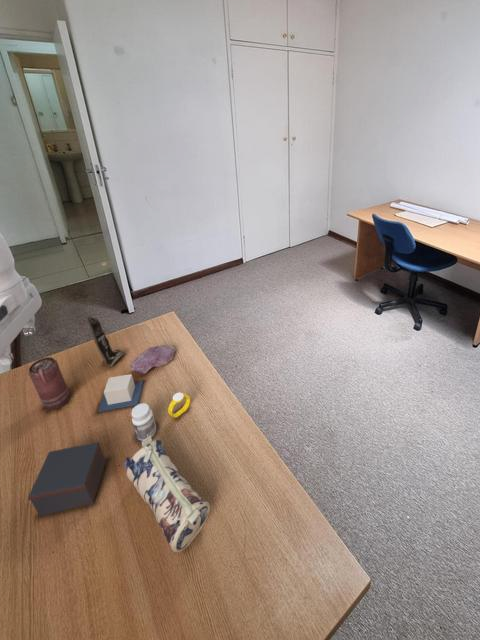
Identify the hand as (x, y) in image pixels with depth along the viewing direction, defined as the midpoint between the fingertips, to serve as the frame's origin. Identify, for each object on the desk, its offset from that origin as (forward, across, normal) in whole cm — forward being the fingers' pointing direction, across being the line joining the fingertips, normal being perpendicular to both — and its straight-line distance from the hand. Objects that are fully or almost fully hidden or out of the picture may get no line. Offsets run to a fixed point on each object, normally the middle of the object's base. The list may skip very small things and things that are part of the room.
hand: (20, 347), depth 74 cm
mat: (+26, -5, +15) cm, 31 cm away
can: (+26, -7, -2) cm, 27 cm away
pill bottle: (+26, +8, +24) cm, 36 cm away
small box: (+25, -5, +16) cm, 30 cm away
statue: (+26, -20, +9) cm, 34 cm away
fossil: (+26, -16, +22) cm, 38 cm away
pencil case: (+26, +26, +32) cm, 49 cm away
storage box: (+26, +18, +11) cm, 33 cm away
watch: (+26, +4, +32) cm, 41 cm away
